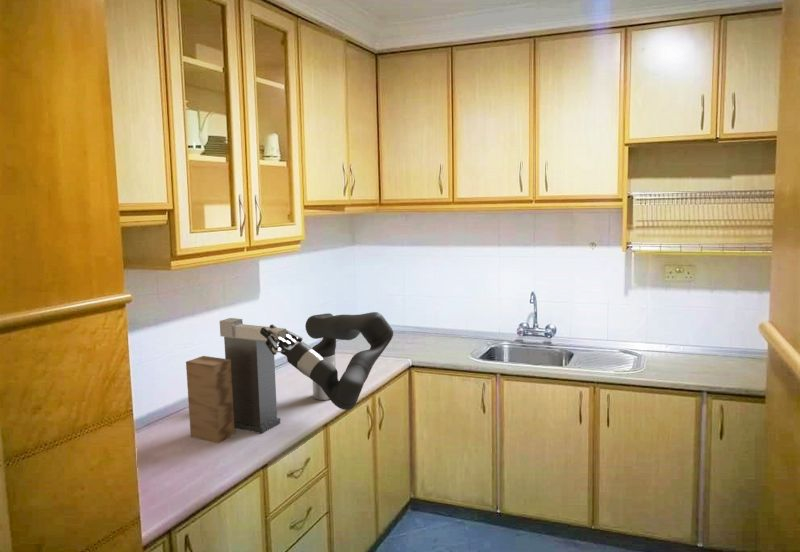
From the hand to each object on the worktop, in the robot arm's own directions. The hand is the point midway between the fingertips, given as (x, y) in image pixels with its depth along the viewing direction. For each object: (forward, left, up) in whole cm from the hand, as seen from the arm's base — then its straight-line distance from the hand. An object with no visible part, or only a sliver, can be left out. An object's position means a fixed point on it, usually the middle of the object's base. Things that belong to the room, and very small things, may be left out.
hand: (265, 328), depth 195 cm
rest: (0, -25, -39) cm, 46 cm away
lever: (0, -5, -3) cm, 6 cm away
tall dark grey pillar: (-14, -19, -39) cm, 45 cm away
